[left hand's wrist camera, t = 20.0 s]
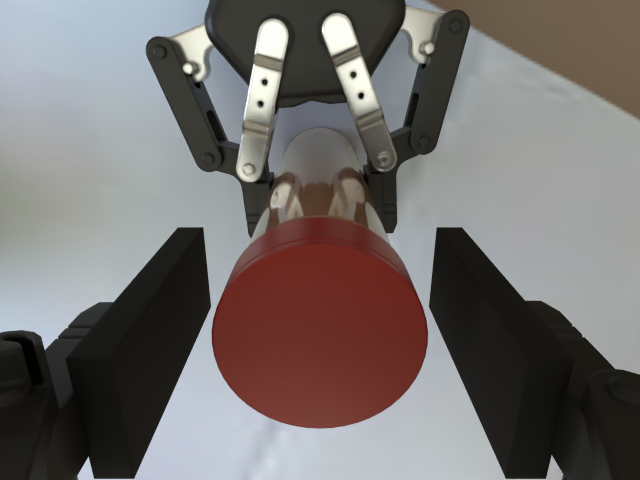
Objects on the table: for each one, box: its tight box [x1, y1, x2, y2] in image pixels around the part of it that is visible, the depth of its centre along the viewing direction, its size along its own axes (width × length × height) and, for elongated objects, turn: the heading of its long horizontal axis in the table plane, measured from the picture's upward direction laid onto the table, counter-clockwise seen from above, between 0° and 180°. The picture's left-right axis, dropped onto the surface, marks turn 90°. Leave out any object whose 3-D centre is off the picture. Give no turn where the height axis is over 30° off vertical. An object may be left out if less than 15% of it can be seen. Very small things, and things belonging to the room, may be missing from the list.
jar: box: [248, 128, 391, 247], centre depth 20 cm, size 5×5×19 cm
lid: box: [212, 217, 428, 428], centre depth 11 cm, size 5×5×2 cm
